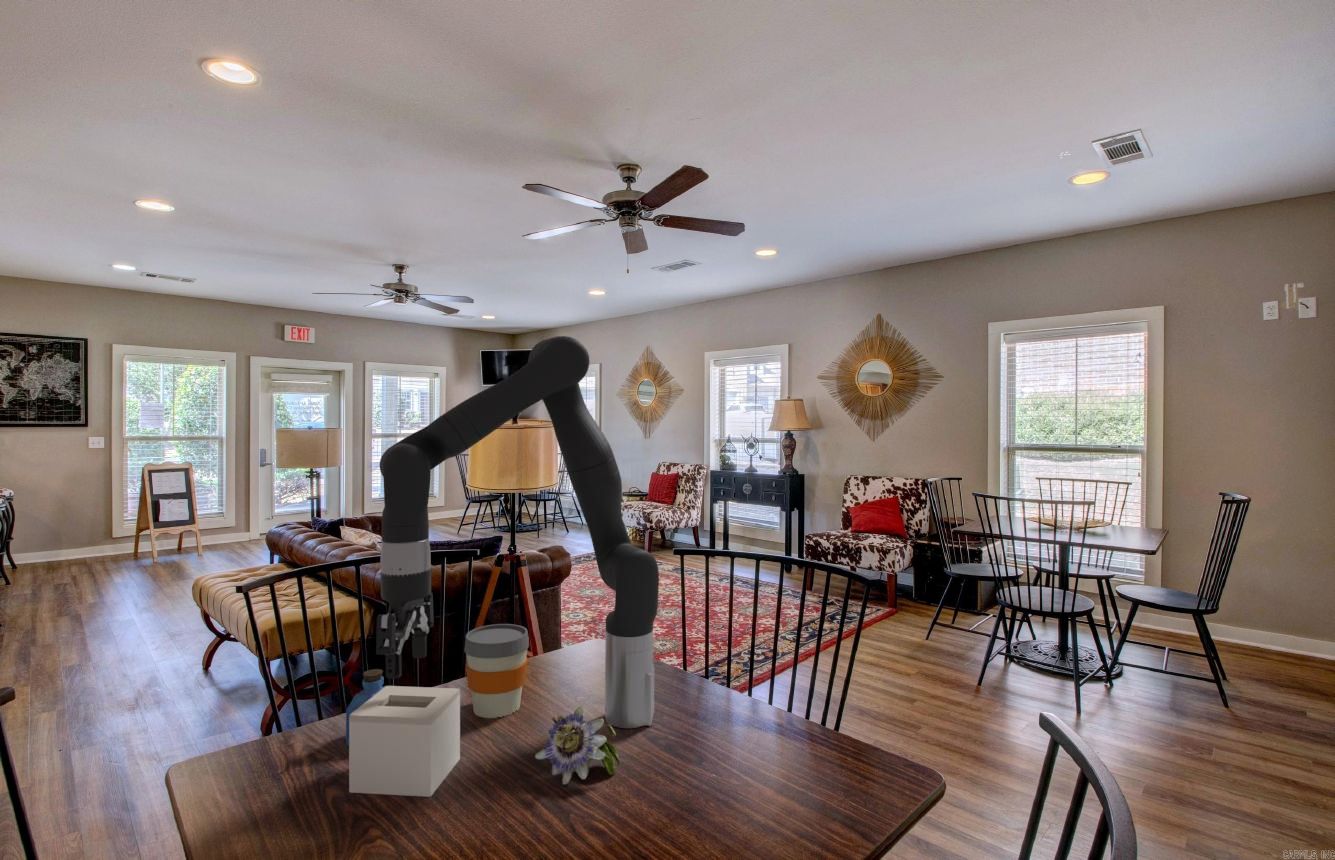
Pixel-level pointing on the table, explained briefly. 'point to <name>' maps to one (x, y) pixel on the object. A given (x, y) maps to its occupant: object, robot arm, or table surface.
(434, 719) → the tissue box
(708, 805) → the table surface
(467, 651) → the reusable coffee cup
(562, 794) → the table surface
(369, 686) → the perfume bottle
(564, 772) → the passion flower
